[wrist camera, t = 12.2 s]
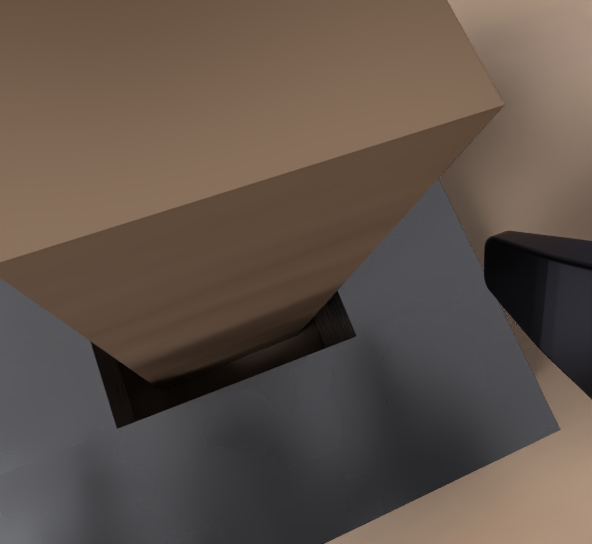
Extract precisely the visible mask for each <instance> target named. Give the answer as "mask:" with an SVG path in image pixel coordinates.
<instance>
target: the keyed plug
mask: <svg viewBox="0 0 592 544" xmlns="http://www.w3.org/2000/svg"><path fill="white" fill-rule="evenodd" d="M504 105H505V104H504V103H503V101H502V99H501V97H500V95H499V94H498V92H497V90H496V88H495V86H494V85H493V83H492V81H491V79H490V77H489V75H488V74H487V72H486V70H485V68H484V66H483V65H482V63H481V61H480V59H479V57H478V56H477V54H476V52H475V50H474V48H473V47H472V45H471V43H470V41H469V39H468V37H467V36H466V34H465V32H464V30H463V28H462V27H461V25H460V23H459V21H458V19H457V18H456V16H455V14H454V12H453V10H452V9H451V7H450V5H449V3H448V1H447V0H0V278H1V279H2V280H4V281H5V282H7V283H8V284H10V285H11V286H12V287H14V288H15V289H17V290H18V291H20V292H21V293H22V294H24V295H25V296H27V297H28V298H30V299H31V300H32V301H34V302H35V303H37V304H38V305H40V306H41V307H42V308H44V309H45V310H47V311H48V312H50V313H51V314H52V315H54V316H55V317H57V318H58V319H60V320H61V321H62V322H64V323H65V324H67V325H68V326H70V327H71V328H72V329H74V330H75V331H77V332H78V333H80V334H81V335H82V336H84V337H85V338H87V339H88V340H90V341H91V342H92V343H94V344H95V345H97V346H98V347H100V348H101V349H102V350H104V351H105V352H107V353H108V354H110V355H111V356H112V357H114V358H115V359H117V360H118V361H120V362H121V363H122V364H124V365H125V366H127V367H128V368H130V369H131V370H132V371H134V372H135V373H137V374H138V375H140V376H141V377H142V378H144V379H145V380H147V381H148V382H150V383H151V384H152V385H154V386H155V387H157V388H158V389H163V388H165V387H168V386H170V385H173V384H175V383H178V382H181V381H183V380H186V379H188V378H191V377H193V376H196V375H198V374H201V373H203V372H206V371H208V370H211V369H214V368H216V367H219V366H221V365H224V364H226V363H229V362H231V361H234V360H236V359H239V358H241V357H244V356H246V355H249V354H252V353H254V352H257V351H259V350H262V349H264V348H267V347H269V346H272V345H274V344H277V343H279V342H282V341H285V340H287V339H290V338H292V337H295V336H297V335H298V334H299V333H300V331H301V330H302V329H303V328H304V327H305V326H306V325H307V324H308V323H309V321H310V320H311V319H312V318H313V317H314V316H315V315H316V314H317V313H318V311H319V310H320V309H321V308H322V307H323V306H324V305H325V304H326V303H327V301H328V300H329V299H330V298H331V297H332V296H333V295H334V294H335V293H336V291H337V290H338V289H339V288H340V287H341V286H342V285H343V284H344V283H345V281H346V280H347V279H348V278H349V277H350V276H351V275H352V274H353V273H354V271H355V270H356V269H357V268H358V267H359V266H360V265H361V264H362V263H363V261H364V260H365V259H366V258H367V257H368V256H369V255H370V254H371V253H372V251H373V250H374V249H375V248H376V247H377V246H378V245H379V244H380V243H381V241H382V240H383V239H384V238H385V237H386V236H387V235H388V234H389V233H390V231H391V230H392V229H393V228H394V227H395V226H396V225H397V224H398V223H399V221H400V220H401V219H402V218H403V217H404V216H405V215H406V214H407V213H408V211H409V210H410V209H411V208H412V207H413V206H414V205H415V204H416V203H417V201H418V200H419V199H420V198H421V197H422V196H423V195H424V194H425V193H426V191H427V190H428V189H429V188H430V187H431V186H432V185H433V184H434V183H435V182H436V180H437V179H438V178H439V177H440V176H441V175H442V174H443V173H444V172H445V170H446V169H447V168H448V167H449V166H450V165H451V164H452V163H453V162H454V160H455V159H456V158H457V157H458V156H459V155H460V154H461V153H462V152H463V150H464V149H465V148H466V147H467V146H468V145H469V144H470V143H471V142H472V140H473V139H474V138H475V137H476V136H477V135H478V134H479V133H480V132H481V130H482V129H483V128H484V127H485V126H486V125H487V124H488V123H489V122H490V120H491V119H492V118H493V117H494V116H495V115H496V114H497V113H498V112H499V110H500V109H501V108H502V107H503V106H504Z"/></svg>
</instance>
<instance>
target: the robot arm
mask: <svg viewBox="0 0 592 544" xmlns="http://www.w3.org/2000/svg"><path fill="white" fill-rule="evenodd" d="M484 280H485V284H486V286H487V288H488V289H489V291H490V292H491V293H492V294H493V296H494V297H495V298H496V299H497V300H498V301H499V303H500V304H501V305H502V306H503V307H504V308H505V310H506V311H507V312H508V313H509V314H510V315H511V317H512V318H513V319H514V320H515V321H516V322H517V324H518V325H519V326H520V327H521V328H522V329H523V331H524V332H525V333H526V334H527V335H528V337H529V338H530V339H531V340H532V341H533V342H534V343H535V344H536V346H537V347H538V348H539V349H540V350H541V351H542V352H543V353H544V354H545V355H546V356H547V357H548V358H549V359H550V360H551V361H552V362H553V363H554V364H555V365H556V366H557V367H558V368H560V369H561V370H562V371H563V372H564V373H565V374H566V375H567V376H568V377H569V378H570V379H571V380H572V381H573V382H574V383H575V384H576V385H577V386H578V387H579V388H581V389H582V390H583V391H584V392H585V393H586V394H587V395H588V396H589V397H590V398H591V399H592V241H587V240H579V239H571V238H563V237H555V236H547V235H539V234H531V233H523V232H515V231H505V232H502V233H500V234H497V235H494V236H491V237H489V238H488V239H487V241H486V243H485V252H484Z"/></svg>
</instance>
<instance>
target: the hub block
mask: <svg viewBox="0 0 592 544" xmlns="http://www.w3.org/2000/svg"><path fill="white" fill-rule="evenodd" d="M313 318H314V321H315V323H316V326H317V328H318V331H319V333H320V336H321V338H322V341H323V343H324V346H325V349H323V350H320V351H318V352H315V353H312V354H310V355H307V356H305V357H302V358H299V359H297V360H294V361H292V362H289V363H287V364H284V365H281V366H279V367H276V368H274V369H271V370H268V371H266V372H263V373H261V374H258V375H255V376H253V377H250V378H248V379H245V380H243V381H240V382H237V383H235V384H232V385H230V386H227V387H224V388H222V389H219V390H217V391H214V392H212V393H209V394H206V395H204V396H201V397H199V398H196V399H193V400H191V401H188V402H186V403H183V404H180V405H178V406H175V407H173V408H170V409H168V410H165V411H162V412H160V413H157V414H155V415H152V416H149V417H147V418H144V419H142V420H139V421H137V422H136V420H135V417H134V414H133V410H132V407H131V404H130V401H129V398H128V394H127V391H126V388H125V385H124V382H123V378H122V375H121V372H120V369H119V366H118V363H117V359H115V358H114V357H112V356H111V355H110V354H108V353H107V352H105V351H104V350H102V349H101V348H100V347H98V346H97V345H95V344H94V343H92V342H91V341H90V340H88V339H87V338H85V337H84V336H82V335H81V334H80V333H78V332H77V331H75V330H74V329H72V328H71V327H70V326H68V325H67V324H65V323H64V322H62V321H61V320H60V319H58V318H57V317H55V316H54V315H52V314H51V313H50V312H48V311H47V310H45V309H44V308H42V307H41V306H40V305H38V304H37V303H35V302H34V301H32V300H31V299H30V298H28V297H27V296H25V295H24V294H22V293H21V292H20V291H18V290H17V289H15V288H14V287H12V286H11V285H10V284H8V283H7V282H5V281H4V280H2V279H1V278H0V544H324V543H326V542H329V541H331V540H333V539H335V538H337V537H339V536H341V535H343V534H345V533H347V532H349V531H351V530H353V529H355V528H358V527H360V526H362V525H364V524H366V523H368V522H370V521H372V520H374V519H376V518H378V517H380V516H382V515H385V514H387V513H389V512H391V511H393V510H395V509H397V508H399V507H401V506H403V505H405V504H407V503H409V502H411V501H414V500H416V499H418V498H420V497H422V496H424V495H426V494H428V493H430V492H432V491H434V490H436V489H438V488H441V487H443V486H445V485H447V484H449V483H451V482H453V481H455V480H457V479H459V478H461V477H463V476H465V475H467V474H470V473H472V472H474V471H476V470H478V469H480V468H482V467H484V466H486V465H488V464H490V463H492V462H494V461H497V460H499V459H501V458H503V457H505V456H507V455H509V454H511V453H513V452H515V451H517V450H519V449H521V448H523V447H526V446H528V445H530V444H532V443H534V442H536V441H538V440H540V439H542V438H544V437H546V436H548V435H550V434H553V433H555V432H557V431H559V430H560V428H559V426H558V424H557V421H556V419H555V417H554V415H553V413H552V411H551V409H550V407H549V405H548V403H547V401H546V399H545V397H544V395H543V393H542V391H541V389H540V387H539V384H538V382H537V380H536V378H535V376H534V374H533V372H532V370H531V368H530V366H529V364H528V362H527V360H526V358H525V356H524V354H523V352H522V349H521V347H520V345H519V343H518V341H517V339H516V337H515V335H514V333H513V331H512V329H511V327H510V325H509V323H508V321H507V319H506V317H505V315H504V312H503V310H502V308H501V306H500V304H499V302H498V300H497V299H496V298H495V297H494V296H493V294H492V293H491V292H490V291H489V289H488V288H487V286H486V284H485V280H484V271H483V269H482V267H481V265H480V263H479V261H478V259H477V257H476V255H475V253H474V251H473V249H472V247H471V245H470V243H469V240H468V238H467V236H466V234H465V232H464V230H463V228H462V226H461V224H460V222H459V220H458V218H457V216H456V214H455V212H454V210H453V208H452V205H451V203H450V201H449V199H448V197H447V195H446V193H445V191H444V189H443V187H442V185H441V183H440V181H439V179H437V180H436V182H435V183H434V184H433V185H432V186H431V187H430V188H429V189H428V190H427V191H426V193H425V194H424V195H423V196H422V197H421V198H420V199H419V200H418V201H417V203H416V204H415V205H414V206H413V207H412V208H411V209H410V210H409V211H408V213H407V214H406V215H405V216H404V217H403V218H402V219H401V220H400V221H399V223H398V224H397V225H396V226H395V227H394V228H393V229H392V230H391V231H390V233H389V234H388V235H387V236H386V237H385V238H384V239H383V240H382V241H381V243H380V244H379V245H378V246H377V247H376V248H375V249H374V250H373V251H372V253H371V254H370V255H369V256H368V257H367V258H366V259H365V260H364V261H363V263H362V264H361V265H360V266H359V267H358V268H357V269H356V270H355V271H354V273H353V274H352V275H351V276H350V277H349V278H348V279H347V280H346V281H345V283H344V284H343V285H342V286H341V287H340V288H339V289H338V290H337V291H336V293H335V294H334V295H333V296H332V297H331V298H330V299H329V300H328V301H327V303H326V304H325V305H324V306H323V307H322V308H321V309H320V310H319V311H318V313H317V314H316V315H315V316H314V317H313Z"/></svg>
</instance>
